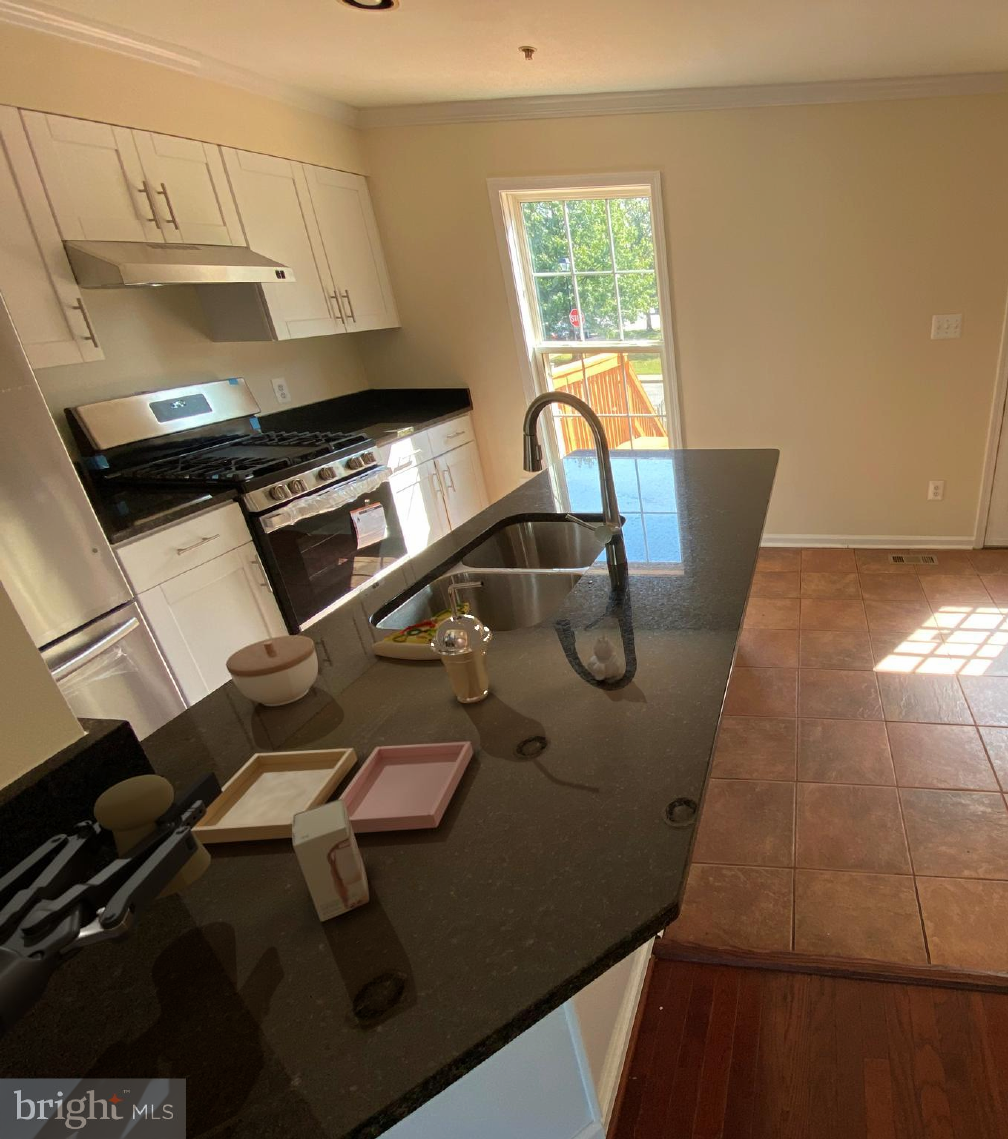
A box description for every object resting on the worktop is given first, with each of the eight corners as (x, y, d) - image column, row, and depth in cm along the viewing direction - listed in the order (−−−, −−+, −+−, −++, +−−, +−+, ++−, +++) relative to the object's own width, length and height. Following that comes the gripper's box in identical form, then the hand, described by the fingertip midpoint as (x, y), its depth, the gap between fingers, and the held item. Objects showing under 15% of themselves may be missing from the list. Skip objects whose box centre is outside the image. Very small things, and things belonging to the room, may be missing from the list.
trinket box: (310, 668, 103) (294, 619, 99) (338, 690, 97) (322, 639, 93) (231, 698, 95) (211, 646, 91) (257, 724, 89) (236, 669, 85)
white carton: (371, 902, 63) (346, 828, 59) (319, 924, 60) (290, 849, 56) (367, 867, 67) (344, 795, 63) (318, 886, 64) (291, 813, 60)
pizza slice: (366, 659, 106) (362, 644, 105) (433, 606, 125) (430, 592, 124) (452, 663, 105) (449, 647, 104) (506, 609, 124) (504, 595, 123)
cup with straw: (481, 674, 102) (460, 563, 94) (515, 692, 97) (495, 577, 89) (432, 698, 95) (404, 581, 88) (465, 719, 91) (438, 597, 83)
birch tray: (185, 844, 69) (178, 831, 68) (260, 765, 81) (255, 753, 80) (300, 837, 70) (295, 823, 70) (357, 759, 82) (353, 747, 82)
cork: (126, 874, 60) (79, 787, 56) (205, 839, 64) (167, 755, 60) (131, 913, 56) (81, 823, 52) (216, 873, 60) (176, 786, 56)
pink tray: (326, 835, 71) (321, 822, 70) (379, 758, 83) (376, 746, 82) (436, 827, 72) (433, 814, 71) (473, 752, 84) (470, 741, 83)
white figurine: (627, 668, 104) (624, 626, 101) (614, 690, 98) (610, 646, 95) (597, 665, 105) (593, 624, 102) (582, 687, 99) (577, 644, 96)
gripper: (-183, 1077, 42) (112, 816, 63) (92, 1050, 44) (289, 806, 65) (-253, 1007, 39) (81, 759, 60) (46, 981, 41) (268, 749, 62)
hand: (188, 783), depth 63 cm, fingers closed on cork, 4 cm apart
